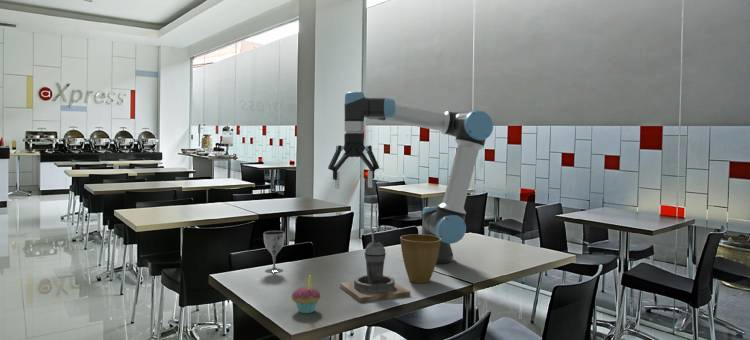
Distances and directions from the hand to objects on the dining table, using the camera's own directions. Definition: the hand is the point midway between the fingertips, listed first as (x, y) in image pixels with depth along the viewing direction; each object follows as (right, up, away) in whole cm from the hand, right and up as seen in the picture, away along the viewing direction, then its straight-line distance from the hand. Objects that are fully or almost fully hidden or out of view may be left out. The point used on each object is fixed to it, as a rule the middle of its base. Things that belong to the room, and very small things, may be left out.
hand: (353, 188), depth 201 cm
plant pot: (+25, -34, -10) cm, 43 cm away
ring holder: (+8, -34, -24) cm, 43 cm away
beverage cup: (+8, -33, -24) cm, 42 cm away
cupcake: (-13, -36, -44) cm, 58 cm away
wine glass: (-31, -33, +2) cm, 45 cm away
